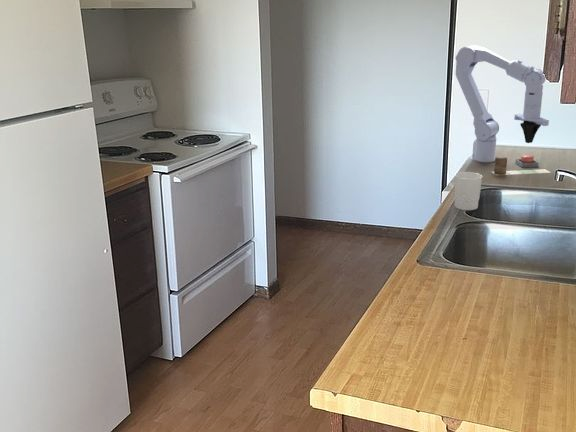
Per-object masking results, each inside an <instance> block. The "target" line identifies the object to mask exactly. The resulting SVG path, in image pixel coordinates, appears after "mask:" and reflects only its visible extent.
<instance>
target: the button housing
mask: <svg viewBox="0 0 576 432" xmlns="http://www.w3.org/2000/svg"><path fill="white" fill-rule="evenodd" d="M515 165H517V166H518V167H521V168H539V162H538V161H537V160H535V159H534V161H533V163H522V162H521V158H518V159H517V158H515Z"/></svg>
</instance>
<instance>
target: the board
mask: <svg viewBox="0 0 576 432" xmlns="http://www.w3.org/2000/svg"><path fill="white" fill-rule="evenodd" d="M491 173H492V174H493V175H495V176H499V175H498V174H495V173H494V171H491ZM551 173H552V172H551V171H549V170H548V169H546V168H544V169H542V168H541V169H523V170H522V169H520V170H519V169H518V170H506V174H504V175H503V176H509V175H511V176H512V175H513V176H514V175H529V174H530V175H531V174H532V175H533V174H551Z"/></svg>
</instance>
